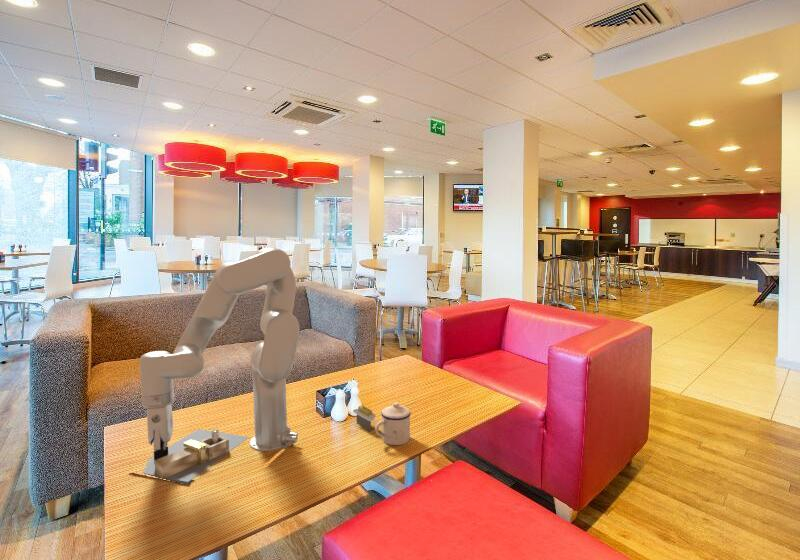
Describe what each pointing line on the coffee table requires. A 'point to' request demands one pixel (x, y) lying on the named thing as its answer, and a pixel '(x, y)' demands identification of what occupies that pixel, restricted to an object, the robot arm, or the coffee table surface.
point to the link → (189, 457)
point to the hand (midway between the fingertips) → (161, 462)
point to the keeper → (197, 449)
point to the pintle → (215, 436)
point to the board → (195, 470)
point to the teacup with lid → (395, 425)
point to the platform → (364, 417)
